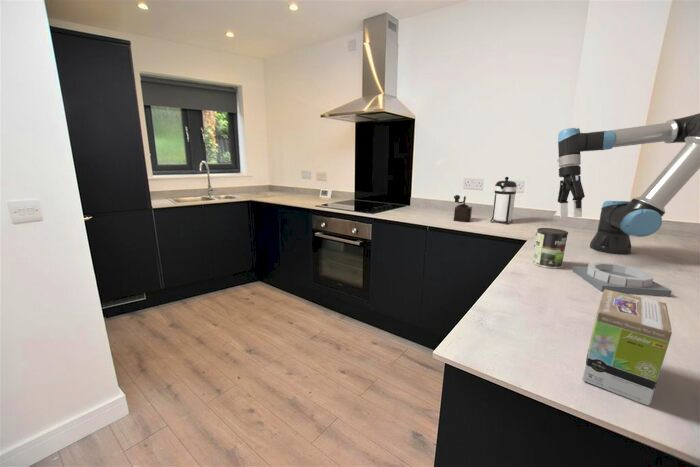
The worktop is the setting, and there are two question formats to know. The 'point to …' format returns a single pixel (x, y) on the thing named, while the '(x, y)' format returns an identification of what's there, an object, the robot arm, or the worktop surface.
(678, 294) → the worktop surface
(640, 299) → the tea box
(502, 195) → the coffee press
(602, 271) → the housing
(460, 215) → the manual coffee grinder
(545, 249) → the coffee can
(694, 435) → the worktop surface
